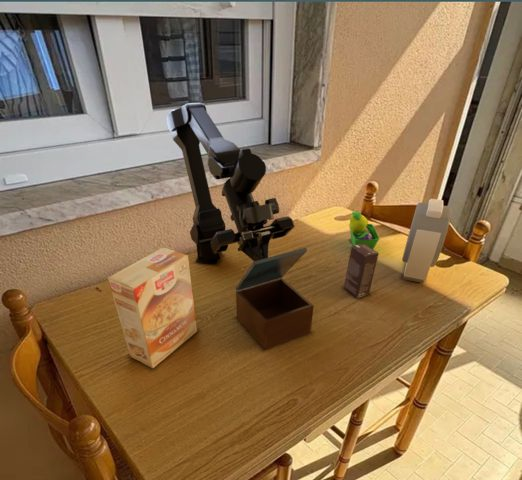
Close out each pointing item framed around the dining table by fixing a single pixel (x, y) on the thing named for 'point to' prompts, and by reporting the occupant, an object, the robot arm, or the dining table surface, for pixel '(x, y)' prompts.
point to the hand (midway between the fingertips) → (266, 270)
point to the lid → (270, 268)
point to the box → (360, 270)
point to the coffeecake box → (155, 305)
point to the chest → (274, 312)
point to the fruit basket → (362, 231)
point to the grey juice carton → (425, 239)
